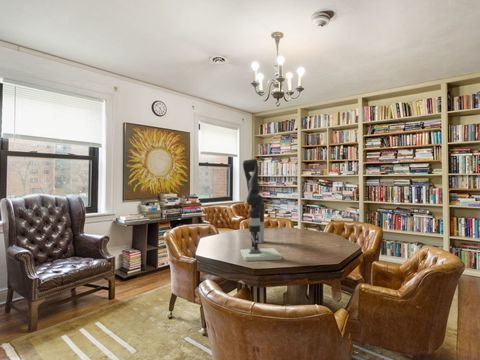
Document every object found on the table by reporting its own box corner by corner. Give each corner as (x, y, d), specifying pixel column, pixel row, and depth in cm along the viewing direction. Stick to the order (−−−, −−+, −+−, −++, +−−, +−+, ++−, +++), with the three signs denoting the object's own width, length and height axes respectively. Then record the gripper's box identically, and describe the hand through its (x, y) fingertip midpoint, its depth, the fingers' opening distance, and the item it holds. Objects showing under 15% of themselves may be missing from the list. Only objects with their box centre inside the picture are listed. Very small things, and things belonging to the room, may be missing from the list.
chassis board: (240, 252, 197) (240, 249, 197) (273, 251, 201) (273, 247, 201) (245, 260, 178) (245, 256, 178) (281, 259, 181) (281, 255, 181)
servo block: (247, 255, 190) (247, 247, 190) (260, 255, 191) (260, 246, 191) (248, 257, 186) (248, 248, 186) (261, 256, 187) (261, 248, 187)
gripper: (247, 223, 195) (247, 246, 195) (251, 226, 181) (251, 251, 181) (257, 222, 196) (257, 245, 196) (262, 226, 182) (262, 250, 182)
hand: (254, 248), depth 189 cm, fingers open, 8 cm apart
